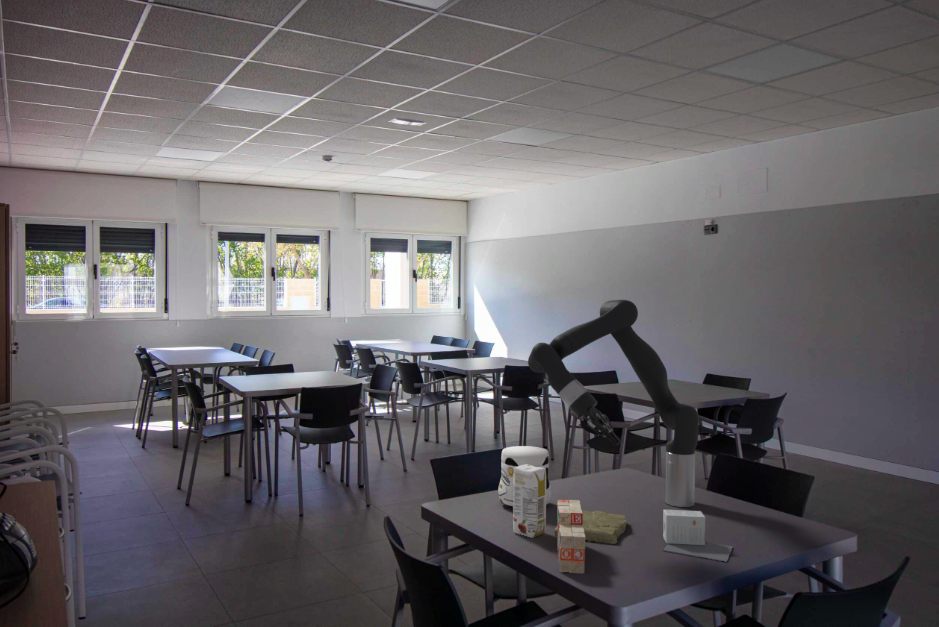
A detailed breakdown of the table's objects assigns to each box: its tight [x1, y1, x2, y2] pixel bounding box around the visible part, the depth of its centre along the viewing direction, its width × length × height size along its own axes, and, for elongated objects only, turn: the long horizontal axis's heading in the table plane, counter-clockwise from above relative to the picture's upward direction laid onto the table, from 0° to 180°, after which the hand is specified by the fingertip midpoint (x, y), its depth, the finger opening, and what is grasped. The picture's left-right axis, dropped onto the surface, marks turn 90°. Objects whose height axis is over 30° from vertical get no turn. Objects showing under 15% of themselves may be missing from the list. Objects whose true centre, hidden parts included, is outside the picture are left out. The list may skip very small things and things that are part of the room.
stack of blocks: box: [556, 499, 586, 574], centre depth 175 cm, size 21×6×12 cm, turn 174°
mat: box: [662, 541, 734, 563], centre depth 182 cm, size 12×16×1 cm
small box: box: [662, 509, 706, 545], centre depth 187 cm, size 8×6×10 cm
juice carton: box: [512, 464, 547, 539], centre depth 193 cm, size 8×9×19 cm
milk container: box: [497, 445, 552, 509], centre depth 220 cm, size 17×17×18 cm
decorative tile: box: [554, 509, 627, 545], centre depth 197 cm, size 19×20×4 cm
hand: (618, 444), depth 193 cm, fingers closed
